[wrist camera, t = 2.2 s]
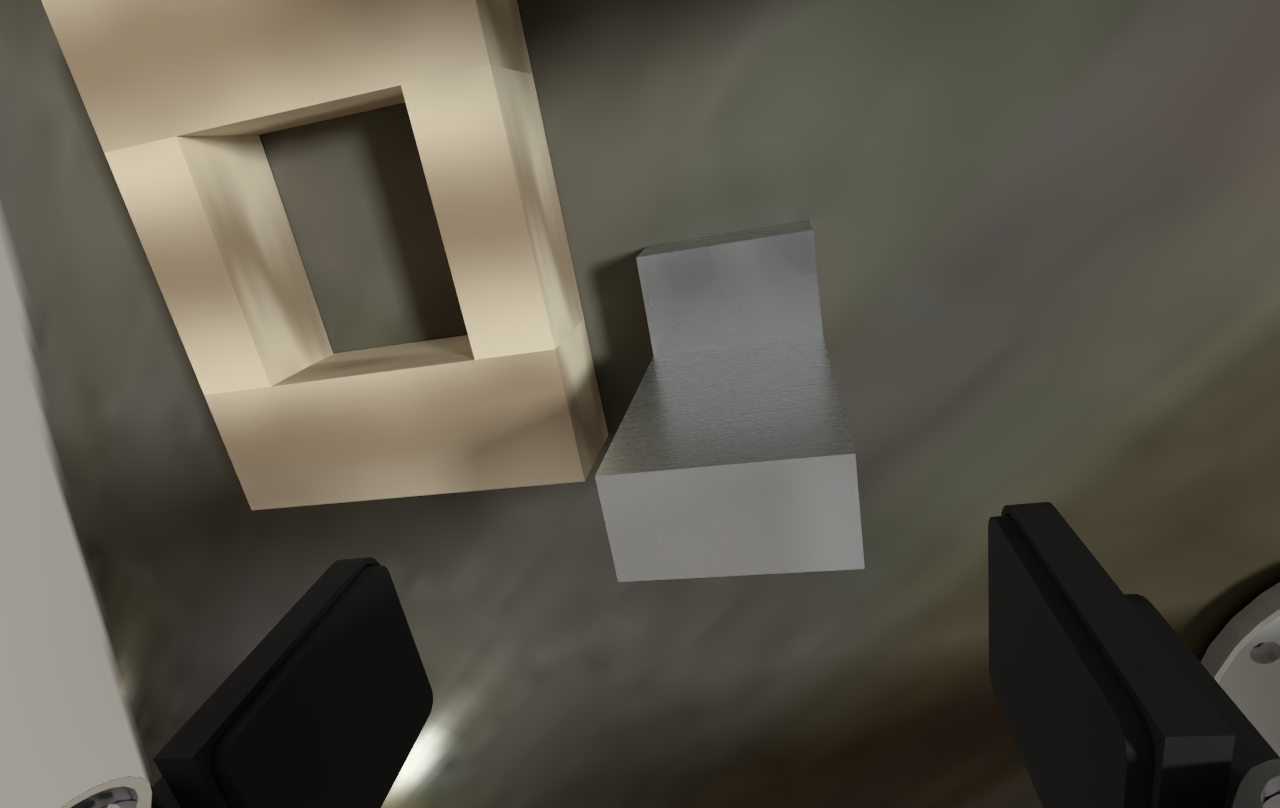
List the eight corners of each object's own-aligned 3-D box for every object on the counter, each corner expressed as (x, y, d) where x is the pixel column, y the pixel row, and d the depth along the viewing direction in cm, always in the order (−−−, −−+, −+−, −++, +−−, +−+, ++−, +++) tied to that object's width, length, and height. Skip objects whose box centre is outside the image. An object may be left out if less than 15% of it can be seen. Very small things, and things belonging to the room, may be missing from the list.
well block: (608, 435, 25) (584, 481, 22) (312, 465, 27) (251, 510, 24) (497, -93, 19) (444, -136, 16) (141, 7, 22) (35, -14, 19)
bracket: (825, 391, 23) (864, 569, 14) (674, 407, 24) (618, 582, 15) (808, 220, 21) (842, 294, 12) (646, 246, 22) (562, 331, 13)
